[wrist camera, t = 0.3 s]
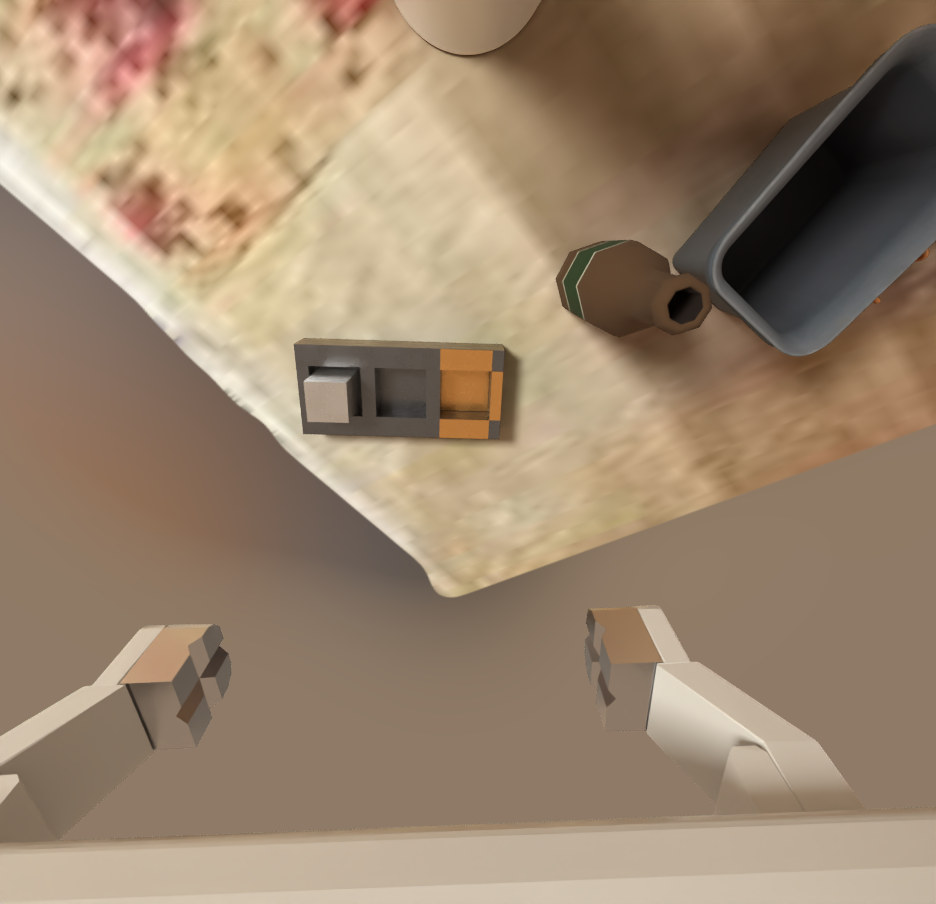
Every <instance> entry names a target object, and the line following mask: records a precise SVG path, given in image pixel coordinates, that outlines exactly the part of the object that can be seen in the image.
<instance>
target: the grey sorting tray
mask: <svg viewBox="0 0 936 904" xmlns="http://www.w3.org/2000/svg"><path fill="white" fill-rule="evenodd" d="M294 350H295V360H296V369H297V379H298V388H299V398H300V407H301V417H302V426H303V434H326V435H364V436H401V437H438V438H471V439H499V433H500V417H501V401H502V385H503V370H504V354H505V350H504V348H503V345H502V344H471V343H440V342H408V341H377V340H345V339H313V338H303V339H302V340H300V341H298V342H296V343H295V344H294ZM321 366H331V367H360V380H361V399H362V403H361V405H360V406H359V408H358V409H357V411H356V412H355V414H354V416H353V417H352V419H351V420H350V422H349V423H334V422H307V412H306V402H305V392H304V381H305V380H306V379H307V378H308V377H309V376H311V375H312V374H313V373H314V372H315V371H317V370H318V369H319V368H320V367H321Z"/></svg>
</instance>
